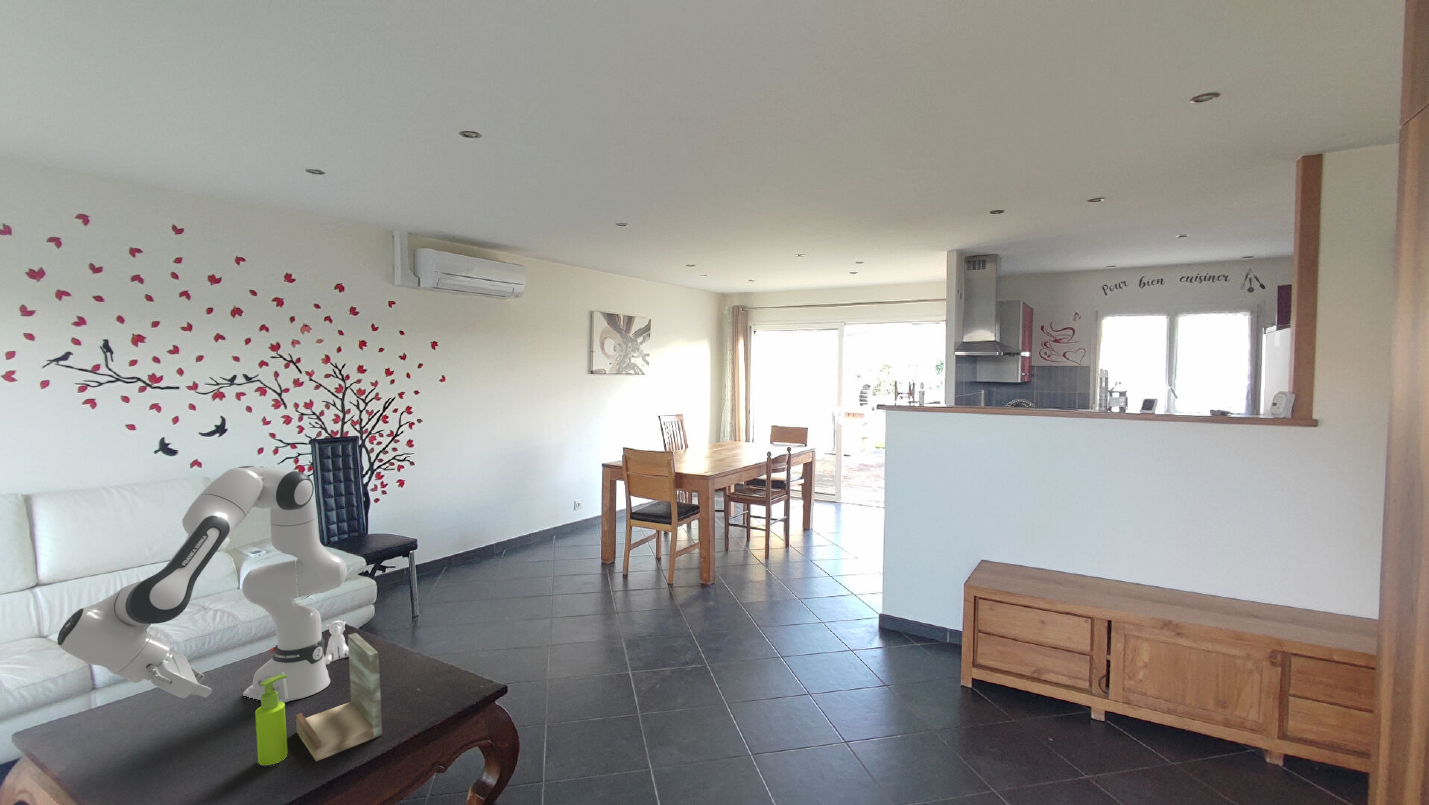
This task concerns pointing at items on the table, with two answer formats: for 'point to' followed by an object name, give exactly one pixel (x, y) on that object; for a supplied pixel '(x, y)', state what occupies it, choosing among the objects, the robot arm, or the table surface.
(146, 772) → the table surface
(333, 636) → the white creature statuette
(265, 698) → the soap dispenser
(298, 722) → the wall board
